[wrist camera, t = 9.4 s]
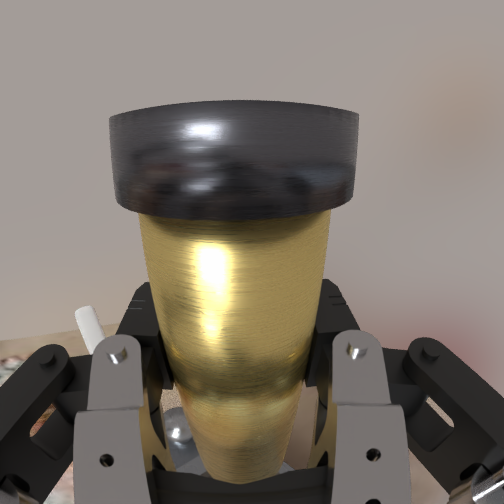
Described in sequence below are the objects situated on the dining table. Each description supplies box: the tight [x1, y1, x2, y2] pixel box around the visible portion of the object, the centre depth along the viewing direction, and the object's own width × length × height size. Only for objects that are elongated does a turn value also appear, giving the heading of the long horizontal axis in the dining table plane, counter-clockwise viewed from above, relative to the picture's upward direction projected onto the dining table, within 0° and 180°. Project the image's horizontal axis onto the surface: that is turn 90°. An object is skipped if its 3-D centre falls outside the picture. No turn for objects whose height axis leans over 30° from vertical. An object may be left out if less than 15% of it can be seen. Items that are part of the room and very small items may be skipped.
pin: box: [109, 100, 359, 484], centre depth 8 cm, size 5×5×14 cm
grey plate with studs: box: [163, 407, 294, 479], centre depth 16 cm, size 20×8×3 cm, turn 43°
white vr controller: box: [75, 306, 106, 354], centre depth 26 cm, size 8×12×7 cm
